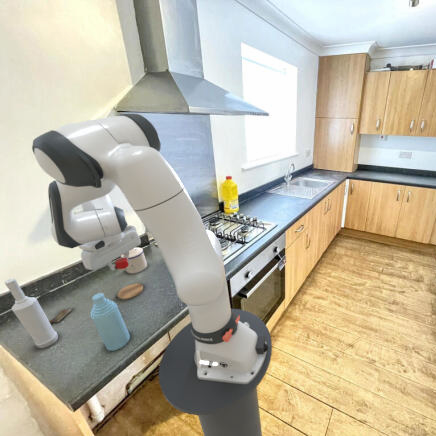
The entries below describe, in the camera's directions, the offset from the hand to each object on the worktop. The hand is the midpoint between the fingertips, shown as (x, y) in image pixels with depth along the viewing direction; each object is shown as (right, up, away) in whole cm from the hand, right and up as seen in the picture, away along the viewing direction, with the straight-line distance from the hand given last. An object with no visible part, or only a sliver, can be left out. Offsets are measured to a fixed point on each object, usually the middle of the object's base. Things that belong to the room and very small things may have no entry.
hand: (120, 265), depth 92 cm
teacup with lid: (-8, -6, +19) cm, 22 cm away
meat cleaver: (-18, -18, -8) cm, 27 cm away
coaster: (0, -12, +6) cm, 13 cm away
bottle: (-12, -22, -16) cm, 29 cm away
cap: (+1, +2, -1) cm, 3 cm away
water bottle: (+11, -22, -16) cm, 29 cm away
